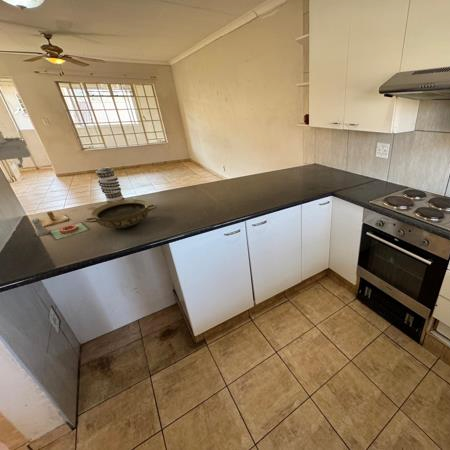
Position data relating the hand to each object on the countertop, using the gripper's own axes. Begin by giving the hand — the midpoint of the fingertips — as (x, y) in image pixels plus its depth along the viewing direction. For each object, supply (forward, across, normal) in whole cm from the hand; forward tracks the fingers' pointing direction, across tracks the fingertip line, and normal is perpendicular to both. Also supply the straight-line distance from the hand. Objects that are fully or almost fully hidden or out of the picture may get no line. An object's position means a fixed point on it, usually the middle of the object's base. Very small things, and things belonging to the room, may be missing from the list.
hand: (7, 169), depth 118 cm
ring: (+27, -9, +28) cm, 39 cm away
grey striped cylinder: (+28, -33, +18) cm, 47 cm away
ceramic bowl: (+28, -29, +43) cm, 59 cm away
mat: (+28, -8, +28) cm, 40 cm away
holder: (+28, -6, +8) cm, 30 cm away
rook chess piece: (+28, 0, +21) cm, 35 cm away
